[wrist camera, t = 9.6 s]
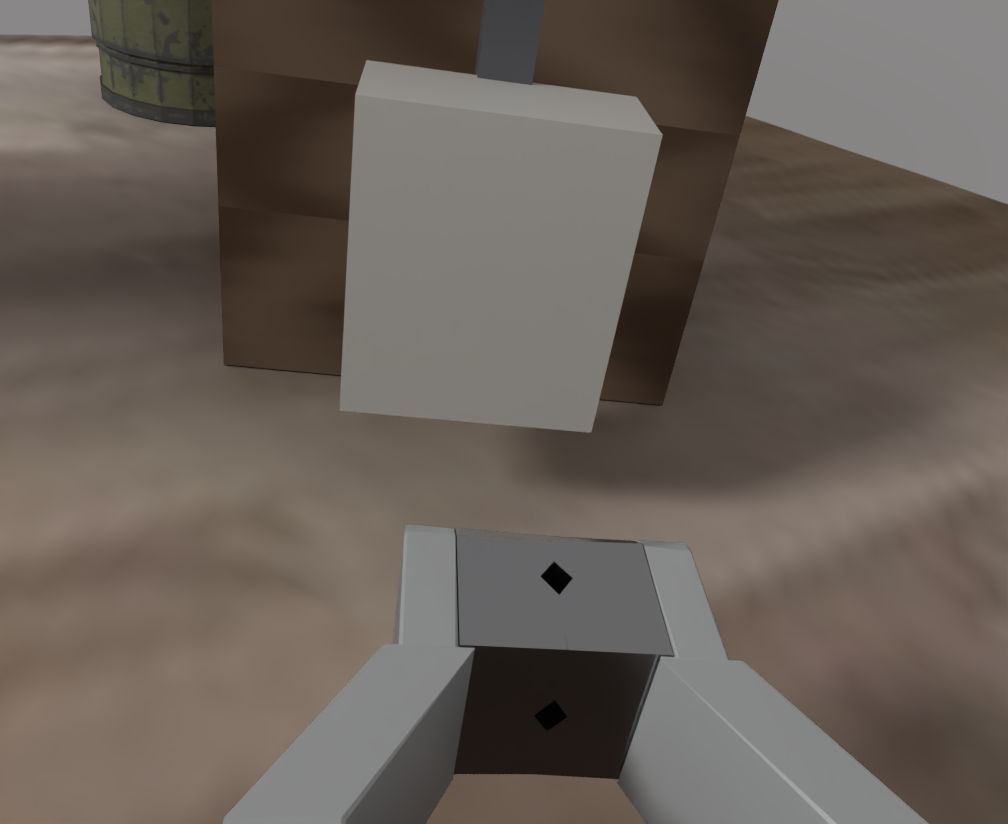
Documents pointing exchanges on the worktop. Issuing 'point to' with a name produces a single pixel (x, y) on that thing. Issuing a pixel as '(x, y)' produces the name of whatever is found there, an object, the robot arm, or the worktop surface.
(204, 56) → the olive green tall piece
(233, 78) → the block
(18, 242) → the worktop surface
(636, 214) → the peg
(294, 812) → the robot arm
